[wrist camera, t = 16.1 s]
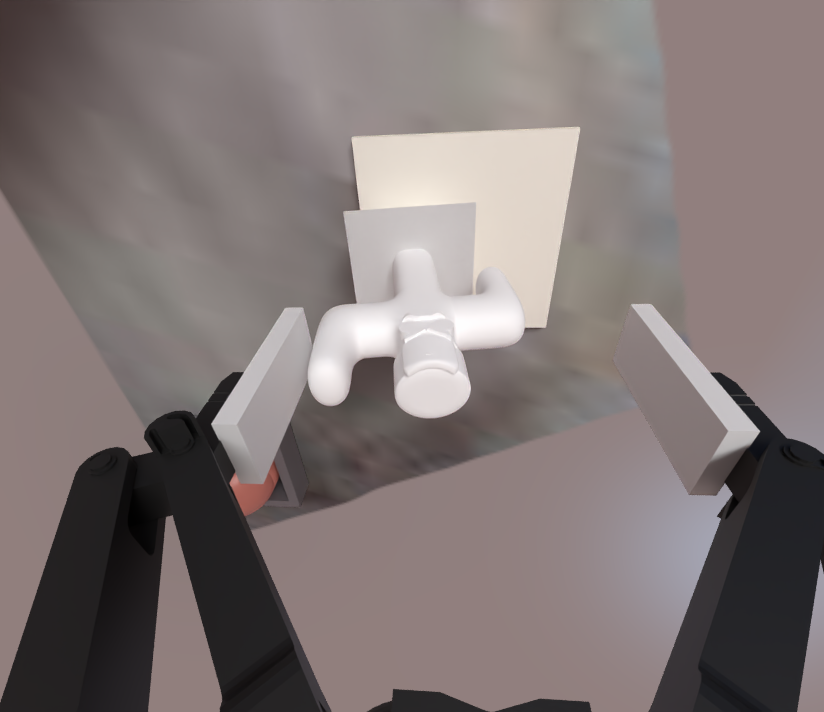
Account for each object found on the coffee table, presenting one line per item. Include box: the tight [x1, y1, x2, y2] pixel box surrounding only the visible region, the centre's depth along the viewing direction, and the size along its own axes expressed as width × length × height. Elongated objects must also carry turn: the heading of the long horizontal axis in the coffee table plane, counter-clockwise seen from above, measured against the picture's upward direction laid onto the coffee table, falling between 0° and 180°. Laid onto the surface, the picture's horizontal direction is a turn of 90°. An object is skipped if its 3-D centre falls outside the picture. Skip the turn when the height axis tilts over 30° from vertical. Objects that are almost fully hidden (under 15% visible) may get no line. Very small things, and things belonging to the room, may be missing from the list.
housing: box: [195, 416, 309, 507], centre depth 40 cm, size 10×10×3 cm
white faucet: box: [308, 202, 525, 418], centre depth 20 cm, size 7×9×15 cm
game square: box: [352, 127, 580, 328], centre depth 27 cm, size 13×13×1 cm
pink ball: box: [230, 460, 280, 516], centre depth 39 cm, size 7×7×7 cm
